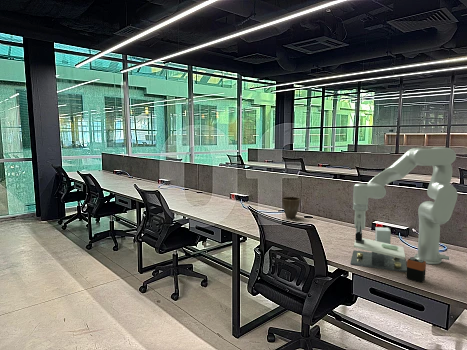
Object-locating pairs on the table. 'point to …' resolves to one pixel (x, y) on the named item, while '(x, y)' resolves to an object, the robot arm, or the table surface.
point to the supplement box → (382, 235)
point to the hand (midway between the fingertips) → (358, 240)
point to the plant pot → (290, 206)
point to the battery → (416, 269)
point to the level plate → (380, 248)
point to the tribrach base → (378, 261)
